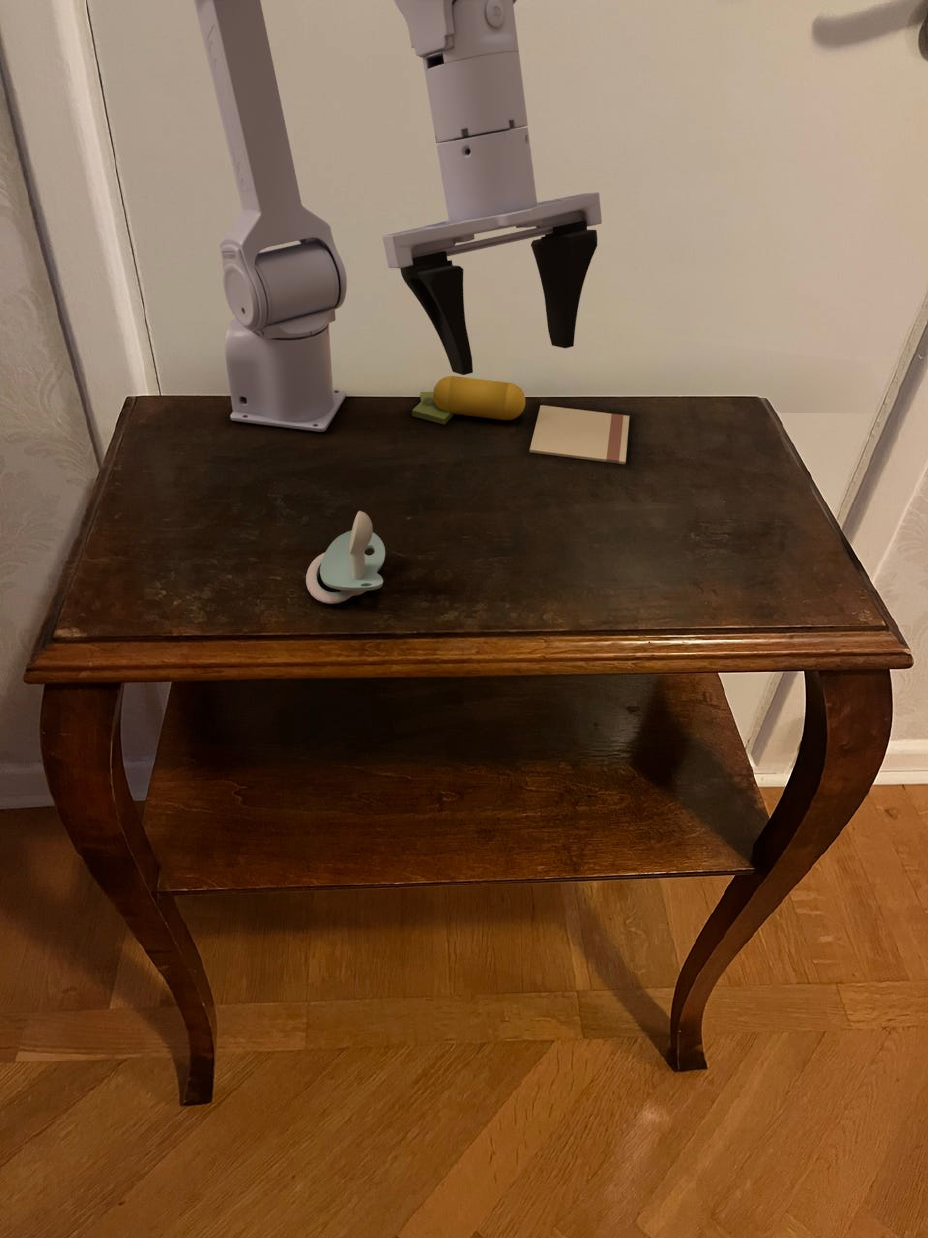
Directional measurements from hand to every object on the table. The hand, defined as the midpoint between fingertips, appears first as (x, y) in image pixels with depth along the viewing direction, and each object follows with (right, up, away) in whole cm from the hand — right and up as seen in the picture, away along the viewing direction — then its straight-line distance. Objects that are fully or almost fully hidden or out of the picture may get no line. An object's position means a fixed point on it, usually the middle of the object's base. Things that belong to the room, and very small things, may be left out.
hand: (513, 358), depth 62 cm
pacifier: (-12, -15, +8) cm, 21 cm away
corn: (-3, +3, +29) cm, 29 cm away
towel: (+8, 0, +26) cm, 28 cm away
